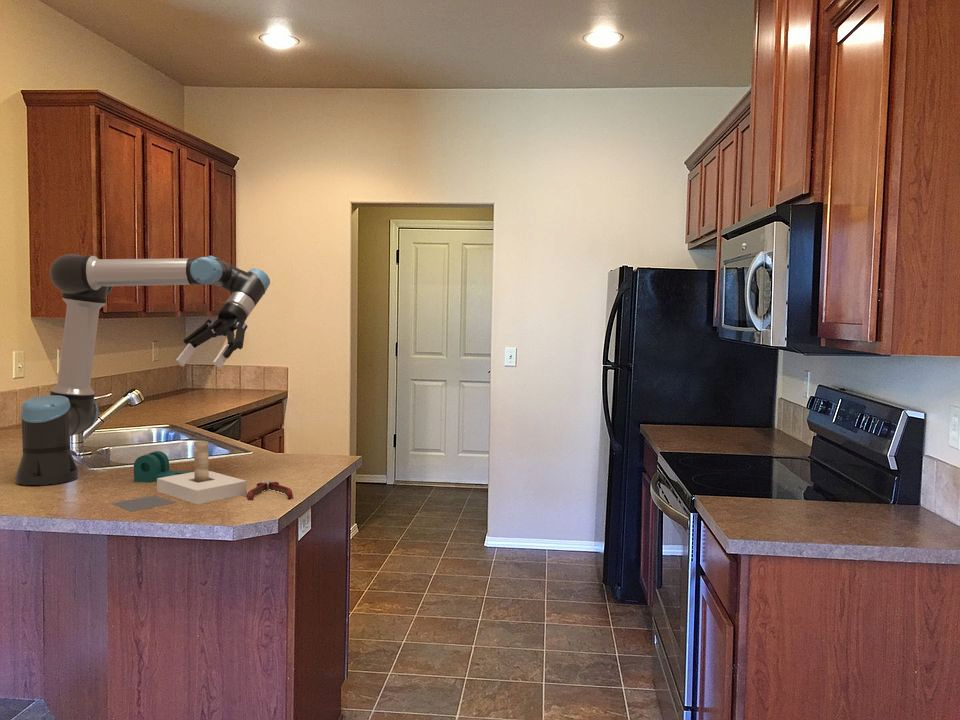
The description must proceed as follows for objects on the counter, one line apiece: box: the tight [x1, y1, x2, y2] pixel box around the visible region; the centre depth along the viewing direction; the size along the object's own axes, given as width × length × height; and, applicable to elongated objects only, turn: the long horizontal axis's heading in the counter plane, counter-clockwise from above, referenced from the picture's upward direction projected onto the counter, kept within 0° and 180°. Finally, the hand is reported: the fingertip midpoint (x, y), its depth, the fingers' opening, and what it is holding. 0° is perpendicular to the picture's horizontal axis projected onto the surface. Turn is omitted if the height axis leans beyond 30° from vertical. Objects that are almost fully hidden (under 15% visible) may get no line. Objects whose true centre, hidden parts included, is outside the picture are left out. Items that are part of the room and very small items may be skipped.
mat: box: [111, 494, 177, 513], centre depth 177 cm, size 11×11×1 cm
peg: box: [193, 440, 210, 483], centre depth 188 cm, size 4×4×14 cm
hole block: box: [156, 470, 248, 506], centre depth 188 cm, size 20×14×4 cm
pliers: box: [246, 479, 293, 501], centre depth 192 cm, size 12×20×3 cm, turn 20°
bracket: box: [133, 450, 194, 483], centre depth 203 cm, size 18×7×8 cm, turn 84°
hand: (197, 364), depth 198 cm, fingers open, 13 cm apart
